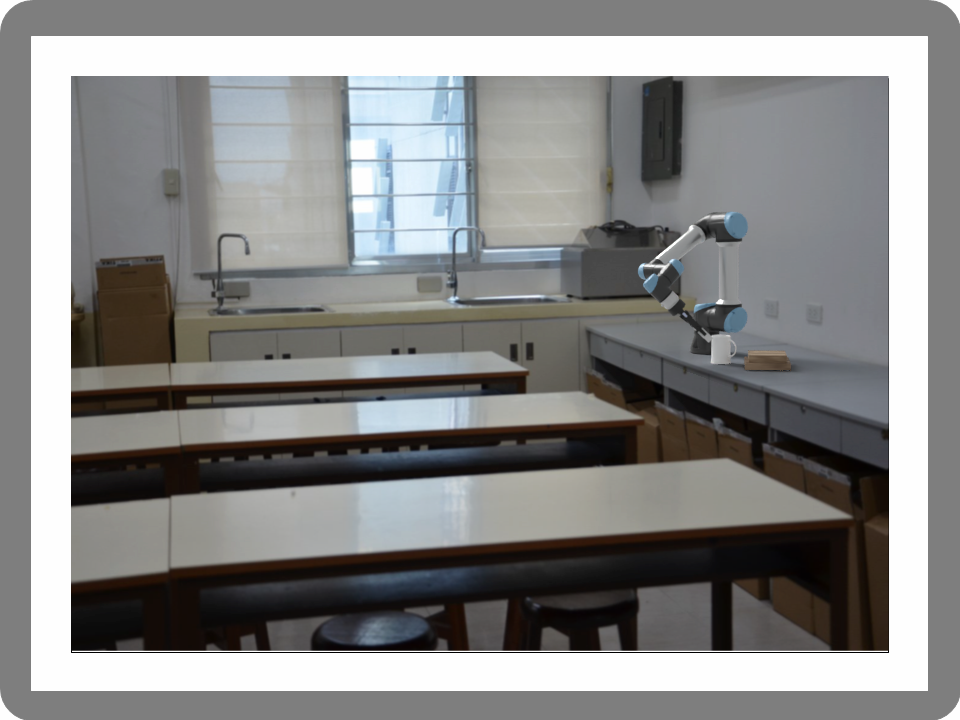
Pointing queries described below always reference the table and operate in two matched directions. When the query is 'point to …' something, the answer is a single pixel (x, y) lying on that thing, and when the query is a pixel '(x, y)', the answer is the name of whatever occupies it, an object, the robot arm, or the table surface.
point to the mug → (721, 349)
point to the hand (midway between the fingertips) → (708, 338)
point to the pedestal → (767, 360)
